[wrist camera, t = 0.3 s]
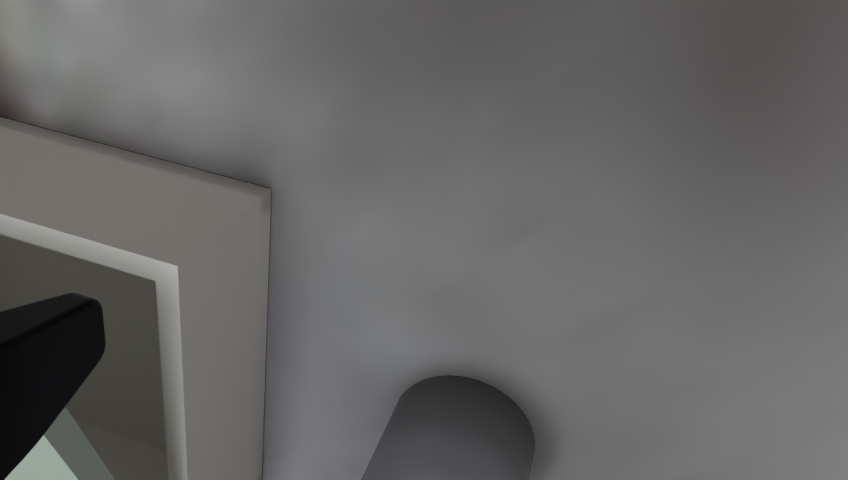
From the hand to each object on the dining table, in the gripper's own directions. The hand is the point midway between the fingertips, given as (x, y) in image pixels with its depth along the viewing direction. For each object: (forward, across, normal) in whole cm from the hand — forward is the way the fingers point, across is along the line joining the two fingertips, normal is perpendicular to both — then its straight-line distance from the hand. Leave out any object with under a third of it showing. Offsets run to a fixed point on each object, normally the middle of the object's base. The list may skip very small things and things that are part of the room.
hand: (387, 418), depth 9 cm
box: (+14, +17, +13) cm, 26 cm away
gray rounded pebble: (+14, 0, +14) cm, 20 cm away
